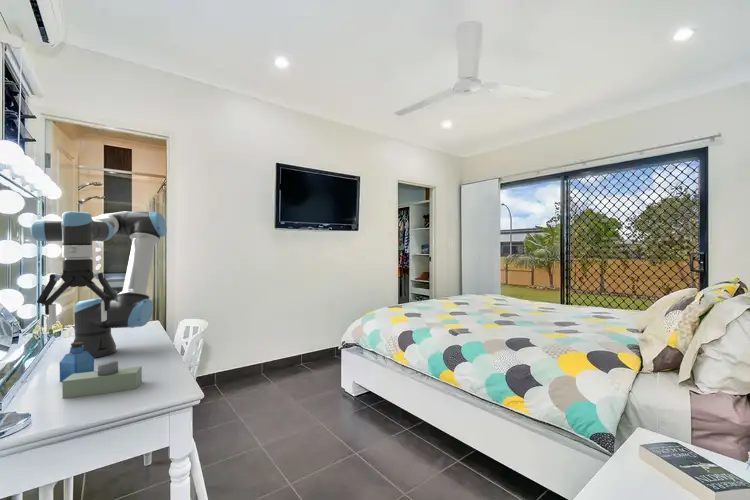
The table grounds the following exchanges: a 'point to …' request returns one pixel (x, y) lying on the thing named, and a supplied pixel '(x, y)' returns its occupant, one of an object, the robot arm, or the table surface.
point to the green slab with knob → (102, 380)
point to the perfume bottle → (76, 361)
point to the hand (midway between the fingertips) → (79, 322)
